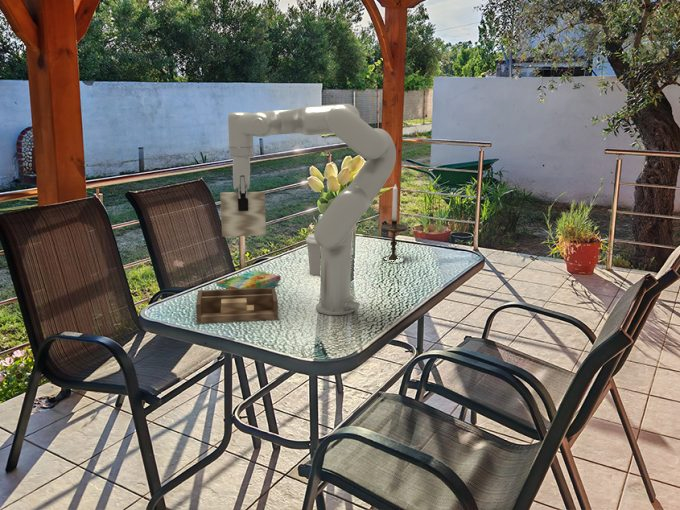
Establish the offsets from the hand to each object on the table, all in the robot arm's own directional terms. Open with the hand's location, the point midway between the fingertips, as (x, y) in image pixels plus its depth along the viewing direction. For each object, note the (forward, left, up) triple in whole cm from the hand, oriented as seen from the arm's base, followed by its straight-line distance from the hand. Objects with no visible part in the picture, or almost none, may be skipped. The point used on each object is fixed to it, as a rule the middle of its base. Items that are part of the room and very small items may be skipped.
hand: (243, 210), depth 208 cm
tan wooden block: (-9, +13, -30) cm, 34 cm away
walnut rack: (-8, +12, -31) cm, 34 cm away
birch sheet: (0, 0, -8) cm, 8 cm away
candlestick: (-11, -76, -31) cm, 83 cm away
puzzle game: (+10, -12, -32) cm, 35 cm away
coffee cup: (+2, -42, -31) cm, 52 cm away
